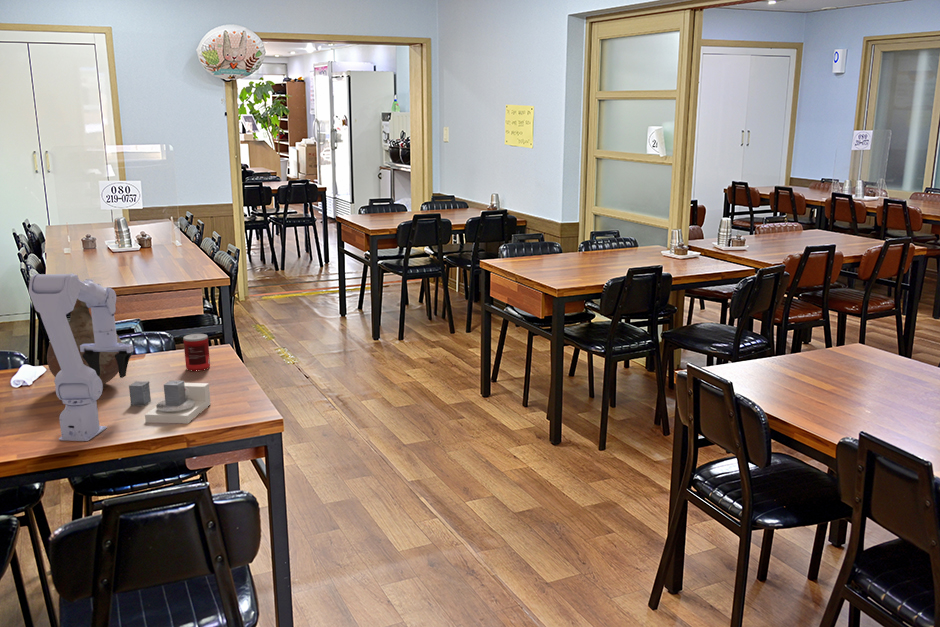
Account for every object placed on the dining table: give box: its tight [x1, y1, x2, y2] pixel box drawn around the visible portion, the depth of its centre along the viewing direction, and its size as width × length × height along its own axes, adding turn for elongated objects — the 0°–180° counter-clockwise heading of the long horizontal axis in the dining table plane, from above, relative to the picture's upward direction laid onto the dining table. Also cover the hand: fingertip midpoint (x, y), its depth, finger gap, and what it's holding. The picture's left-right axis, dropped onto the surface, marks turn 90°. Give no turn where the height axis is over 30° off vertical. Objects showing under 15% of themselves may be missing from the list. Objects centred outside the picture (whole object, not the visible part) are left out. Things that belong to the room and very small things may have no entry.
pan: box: [155, 398, 195, 412], centre depth 220 cm, size 10×10×1 cm
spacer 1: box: [128, 380, 152, 407], centre depth 230 cm, size 4×4×6 cm
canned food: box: [182, 333, 211, 372], centre depth 263 cm, size 8×8×11 cm
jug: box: [46, 299, 123, 389], centre depth 242 cm, size 22×22×30 cm
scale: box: [144, 382, 211, 424], centre depth 221 cm, size 15×12×6 cm
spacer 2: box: [163, 379, 186, 406], centre depth 220 cm, size 4×4×6 cm
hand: (110, 376), depth 223 cm, fingers open, 7 cm apart
